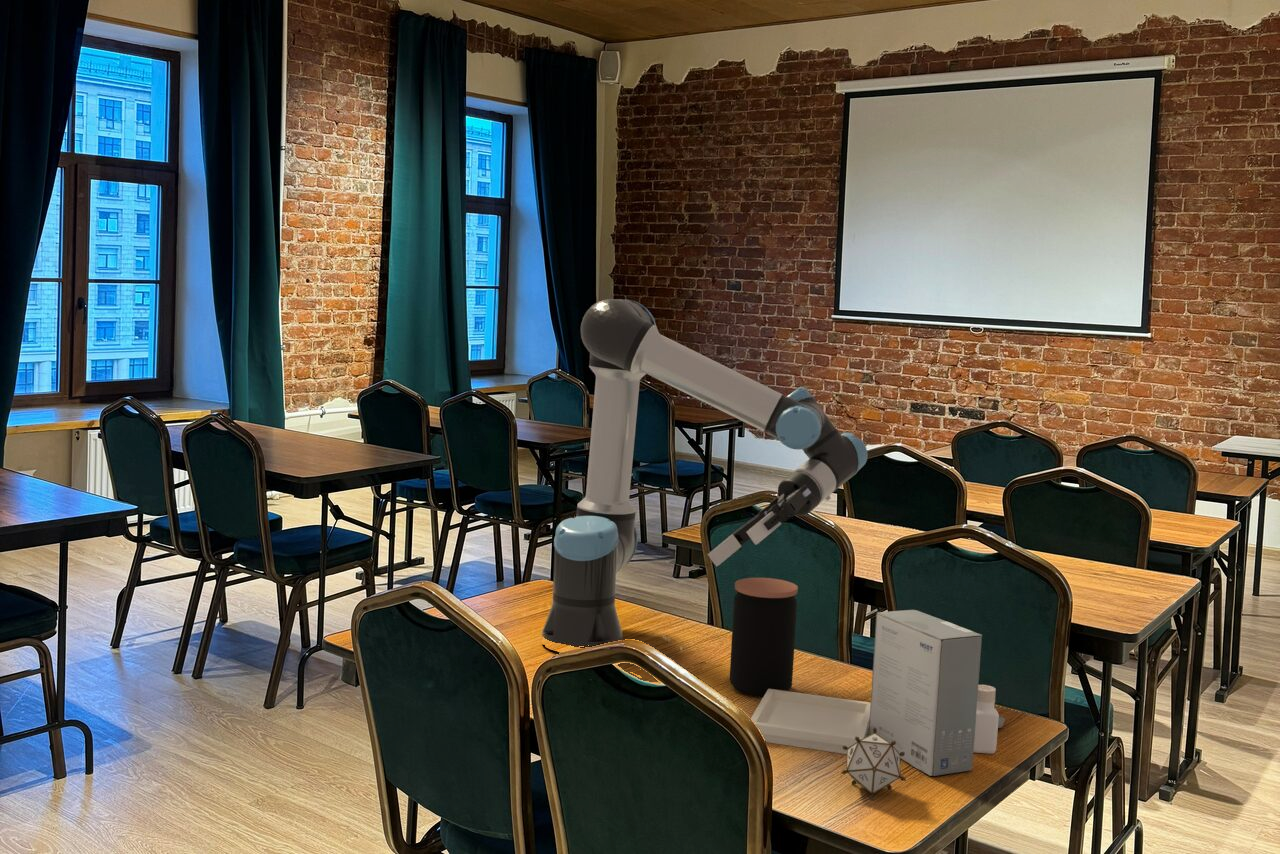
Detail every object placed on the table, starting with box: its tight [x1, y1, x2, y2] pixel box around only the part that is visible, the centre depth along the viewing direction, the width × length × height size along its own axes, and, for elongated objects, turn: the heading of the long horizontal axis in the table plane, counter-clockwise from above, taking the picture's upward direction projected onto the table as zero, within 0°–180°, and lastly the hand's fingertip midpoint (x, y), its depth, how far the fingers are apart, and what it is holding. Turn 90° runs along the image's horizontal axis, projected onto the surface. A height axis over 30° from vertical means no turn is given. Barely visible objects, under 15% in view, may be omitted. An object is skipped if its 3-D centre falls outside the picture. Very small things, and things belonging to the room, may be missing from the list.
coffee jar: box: [729, 577, 799, 699], centre depth 197 cm, size 11×11×18 cm
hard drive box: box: [868, 609, 983, 777], centre depth 170 cm, size 16×8×20 cm, turn 25°
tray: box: [750, 689, 871, 755], centre depth 180 cm, size 17×17×2 cm
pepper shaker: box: [973, 684, 1000, 755], centre depth 174 cm, size 4×4×10 cm
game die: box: [840, 727, 907, 801], centre depth 157 cm, size 9×8×10 cm
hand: (731, 549), depth 201 cm, fingers open, 13 cm apart
